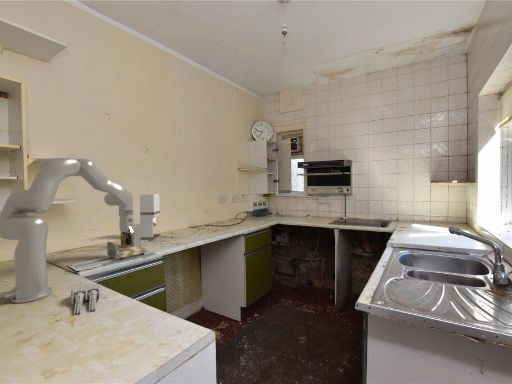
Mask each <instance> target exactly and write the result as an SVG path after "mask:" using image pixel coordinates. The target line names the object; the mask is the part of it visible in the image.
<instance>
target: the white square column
mask: <svg viewBox="0 0 512 384" xmlns="http://www.w3.org/2000/svg"><path fill="white" fill-rule="evenodd" d="M160 204H161V203H160V193H154V194H153V193H152V194H151V193H150V194H148V193H141V194H139V216H140V217H139V218H140V219H139V221H140V222H139V224H140V230H141V241H155V240H157V239H159V238H161V233H160V234H157V233H155V234H154V228H155V226H156V225H157V217H158V216H160V215H161V209H160V208H161V207H160V206H161V205H160Z"/></svg>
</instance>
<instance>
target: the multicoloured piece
mask: <svg viewBox="0 0 512 384" xmlns="http://www.w3.org/2000/svg"><path fill="white" fill-rule="evenodd" d="M106 246H107V249H106V250H107V251H106V253H107V254H106V255H107V256H111V257H113V258H115V259H118V258H120V259H121V260H123V259H124V257H127V256H132V255H136V254H141V255H144V253H145V252H147V251H148V250H147V248H145V247H141V246H134V247H129V248H126V247H124V248H121V249H120V245H119V244H117V243H115V242H111V241H107V242H106Z"/></svg>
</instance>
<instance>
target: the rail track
mask: <svg viewBox="0 0 512 384" xmlns="http://www.w3.org/2000/svg"><path fill="white" fill-rule="evenodd" d="M156 254H157V253H155V252H153V251H149V250H147V252H145V253H144V255H141V254H136V255H132V256H127V257H124V259H123V260H121V259H120V258H118V259H115V258H113V257H111V256H109V255H107V256H104V257H100V258H94V259H90V260H85V261H79V262H75V263H71V264H68V265H70V266H74V267H76V269H79V268H84V267H88V266H93V265H98V264H102V266H103V267H105V266H104V265H107V266H109V265H108V264H112V265H115V264H114V263H116V264H121V263H124V262H129V261H133V260H137V259H143V258H146V257H149V256H151V257H152V256H155V255H156Z"/></svg>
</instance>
